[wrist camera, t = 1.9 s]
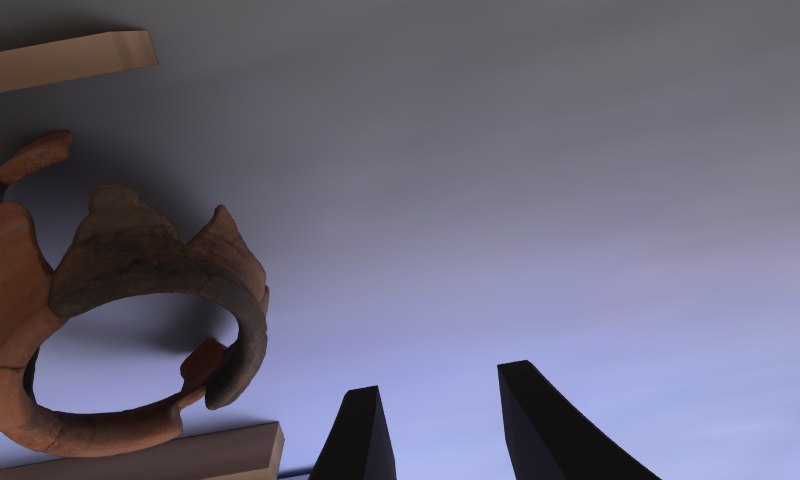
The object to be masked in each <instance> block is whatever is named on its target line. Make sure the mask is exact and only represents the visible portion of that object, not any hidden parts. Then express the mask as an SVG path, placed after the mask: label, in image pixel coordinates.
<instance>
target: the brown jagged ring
mask: <svg viewBox="0 0 800 480" xmlns="http://www.w3.org/2000/svg"><path fill="white" fill-rule="evenodd" d="M72 141H73V135H72V134H71V132H70V131H65V130H61V131H57V132H54V133H51V134H48V135H46V136H43V137H41V138H39V139H36V140H35V141H33V142H31V143H29V144H28V145H26V146H25V147H23V148H22V149H20V150H19V151H18V152H16V153H15V154H14V155H13V156H12V157H11V158H10V159H9V160H8V161H6V162H5V163H4V164H3V165H2V166H1V167H0V431H1V432H2V433H3V434H4V435H6V436H7V437H8V438H10V439H11V440H13V441H14V442H16V443H18V444H20V445H22V446H24V447H26V448H28V449H31V450H33V451H35V452H44V453H47V454H49V455H54V456H64V457H102V456H113V455H116V454H120V453H129V452H133V451H137V450H141V449H145V448H148V447H152V446H154V445H158V444H161V443H164V442H166V441H169V440H171V439H173V438H175V437H177V436H179V435H180V434H182V431H183V430H182V419H181V417H180V411H181V410H182V409H183V408H185V407H187V406H189V405H191V404H193V403H194V402H196V401H198V400H199V399H201V398H202V397H203V396H204V395H205V404H206V407H207V408H208V409H209V410H216V409H218V408H220V407H224V406H227V405H229V404H231V403H232V402H234V401H235V400H236V399H237V398H238V397H239V396H240V394H241V393H243V392H244V390H245V389H246V388H247V387H248V385H249V384H250V382H251V380H252V379H253V377H254V376H255V375H256V373H257V372H258V370H259V368H260V366H261V364H262V362H263V359H264V357H265V354H266V348H267V335H266V331H267V325H266V313H267V310H268V303H269V288H268V286H266V285H265V282H266V273H265V271H264V269H263V267H262V265H261V264H260V262H259V261H258V260H257V259H256V258H255V256H254V255H253V254H252V253H251V252H250V250H249V249H248V247H247V245H246V244H245V242H244V240H243V239H242V237H241V235H240V233H239V232H238V230H237V227H236V224H235V222H234V220H233V219H232V217H231V215H230V214H229V212H228V211H227V209H226V208H225V206H223V205H218V206H217V207H216V209H215V211H214V215H213V217H212V218H211V220H210V221H209V223H208V224H207V225H205V226H204V227H203V228H202V229H201V230H200V231H199V233H198V234H197V235H196V236H194V237H193V239H192V240H191V241H189V242H188V243H187V244H186V245H183V244H182V243H181V240H180V238H179V235H178V232H177V229H176V227H175V226H174V224H172V223H171V222H170V221H169V220H168V218H167V217H166V216H165V215H164V214H162V213H161V212H159V211H158V210H157V209H155V208H153V207H151V206H149V205H148V204H146V203H145V202H144V201H143V200H142V199H141V197H140V196H139V194H138V193H137V192H136V191H135V190H134V189H132V188H130V187H127V186H120V185H108V184H100V185H95V186H93V187H91V188H90V190H89V203H88V210H89V214H88V215H87V216H86V217H85V218H84V219H83V221H82V222H81V223H80V225H79V227H78V228H77V230H76V233H75V236H74V238H73V241H72V244H71V245H70V247H69V248H68V250H67V252H66V253H65V255H64V257H63V259H62V261H61V262H60V264H59V265H58V266H57V268H56V270H53V269H52V268H51V266H50V265H49V264H48V262H47V261H46V260H45V258H44V257H43V255H42V253H41V250H40V248H39V245H38V242H37V238H36V233H35V224H34V220H33V217H32V215H31V214H30V212H29V211H28V210H27V209H25V208H24V207H23V206H22V205H21V204H20V203H18V202H14V201H6V202H4V203H3V199H4V195H5V192H6V190H7V188H8V187H9V186H10V185H11V184H13V183H15V182H17V181H18V180H20V179H22V178H24V177H26V176H28V175H30V174H32V173H34V172H36V171H38V170H40V169H43V168H46V167H48V166H50V165H53V164H56V163H58V162H61V161H63V160H66V159H67V158H68V156H69V148H68V147H69V146H70V145H71V143H72ZM165 292H169V293H173V292H179V293H185V294H196V295H199V296H202V297H204V298H206V299H210V300H212V301H214V302H215V303H217V304H219V305H221V306H222V307H224V308H226V309H227V310H229V311H230V312H231V313H232V314H233V315H234V316H235V318H236V320H237V322H238V326H239V332H238V338H237V340H236V341H235V342H234V343H233V344H232V345H230V346H229V347H228V348H227V347H226V346H225V345H223V344H221V343H220V342H218V341H216V340H215V339H209V340H207V341H205V342H203V343H202V344H201V345H200V346H199V347H198V348H196V349H195V350H194V351H193V352H192V353H191V354H190V355H189V356H188V357H187V358H186V359H185V360H184V362H183V363H182V365H181V367H180V373H181V376H182V378H183V379H184V384H183V387H182V390H181V392H179V393H176V394H174V395H172V396H170V397H168V398H165V399H163V400H160V401H157V402H155V403H152V404H148V405H145V406H142V407H138V408H135V409H131V410H124V411H121V412H110V413H96V414H75V413H66V412H60V411H52V410H50V409H47V408H45V407H42V406H40V405H38V404H37V403H36V400H35V396H34V393H33V380H34V373H35V363H36V360H37V357H38V353H39V349H40V345H41V344H42V343H43V342H44V341H45V340H46V339H47V338H49V337H50V336H51V335H52V334H53V333H54V332H55V331H57V330H58V329H59V328H60V327H62V326H63V325H64V324H65V323H66V322H67V321H68V320H69V319H70V318H72V317H75V316H77V315H80V314H82V313H85V312H87V311H89V310H91V309H93V308H95V307H98V306H101V305H103V304H105V303H108V302H111V301H114V300H118V299H121V298H125V297H130V296H137V295H145V294H152V293H165Z"/></svg>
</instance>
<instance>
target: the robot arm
mask: <svg viewBox="0 0 800 480" xmlns="http://www.w3.org/2000/svg"><path fill="white" fill-rule="evenodd" d="M497 368H498V377H499V386H500V395H501V404H502V413H503V422H504V431H505V440H506V444H507V448H508V451H509V455H510V459H511V462H512V466H513V469H514V473H515V476H516V480H662V479H660V478H659V477H658V476H656V475H655V474H654V473H652V472H651V471H650V470H648V469H647V468H646V467H644V466H643V465H642V464H641V463H639V462H638V461H637V460H636V459H634V458H633V457H632V456H631V455H629V454H628V453H627V452H626V451H624V450H623V449H622V448H621V447H619V446H618V445H617V444H616V443H615V442H613V441H612V440H611V439H610V438H609V437H608V436H606V435H605V434H604V433H603V432H602V431H601V430H600V429H598V428H597V427H596V426H595V425H594V424H593V423H592V422H591V421H590V420H588V419H587V418H586V417H585V416H584V415H583V414H582V413H581V412H580V411H578V410H577V409H576V408H575V407H574V406H573V405H572V404H571V403H570V402H569V401H568V400H567V399H566V398H565V397H564V396H563V395H562V394H561V393H560V392H559V391H558V390H557V389H556V388H555V387H554V386H553V385H552V384H551V383H550V382H549V381H548V380H547V379H546V378H545V377H544V376H543V375H542V374H541V373H540V372H539V371H538V369H537V368H536V367H535V366H534V365H533V364H532V363H531V362H529V361H528V360H523V361H517V362H511V363H505V364H500V365H497ZM278 480H397V479H396V468H395V459H394V454H393V450H392V446H391V441H390V437H389V433H388V428H387V424H386V419H385V415H384V411H383V406H382V402H381V397H380V393H379V389H378V385H377V386H371V387H365V388H360V389H354V390H349V391H348V392H347V393H346V394H345V396H344V398H343V401H342V404H341V407H340V409H339V412H338V414H337V417H336V419H335V422H334V424H333V427H332V429H331V431H330V433H329V436H328V438H327V440H326V443H325V445H324V447H323V449H322V451H321V453H320V455H319V457H318V459H317V461H316V463H315V465H314V468H313V470H312V472H311V474H307V475H301V476H296V477H290V478H284V479H278Z"/></svg>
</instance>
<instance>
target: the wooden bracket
mask: <svg viewBox="0 0 800 480" xmlns="http://www.w3.org/2000/svg"><path fill="white" fill-rule="evenodd" d="M155 64H159V63H158V60H157V57H156V54H155V51H154V48H153V46H152V43H151V40H150V37H149V34H148V31H114V32H105V33H100V34H94V35H89V36H83V37H78V38H72V39H67V40H61V41H56V42H51V43H45V44H40V45H34V46H29V47H23V48H18V49H12V50H7V51H1V52H0V93H2V92H7V91H13V90H18V89H24V88H29V87H35V86H40V85H46V84H51V83H57V82H62V81H68V80H73V79H79V78H84V77H90V76H96V75H101V74H107V73H112V72H118V71H123V70H128V69H134V68H139V67H144V66H150V65H155ZM284 441H285V439H284V436H283V433H282V430H281V427H280V424H279V422H277V423H271V424H265V425H259V426H253V427H247V428H242V429H236V430H230V431H224V432H218V433H212V434H207V435H201V436H195V437H189V438H183V439H177V440H171V441H166V442H164V443H161V444H158V445H154V446H152V447H148V448H145V449H141V450H137V451H133V452H129V453H120V454H116V455H113V456H102V457H72V458H66V459H60V460H54V461H49V462H43V463H37V464H31V465H25V466H19V467H13V468H8V469H2V470H0V480H277V475H278V470H279V465H280V460H281V455H282V450H283V446H284Z"/></svg>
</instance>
